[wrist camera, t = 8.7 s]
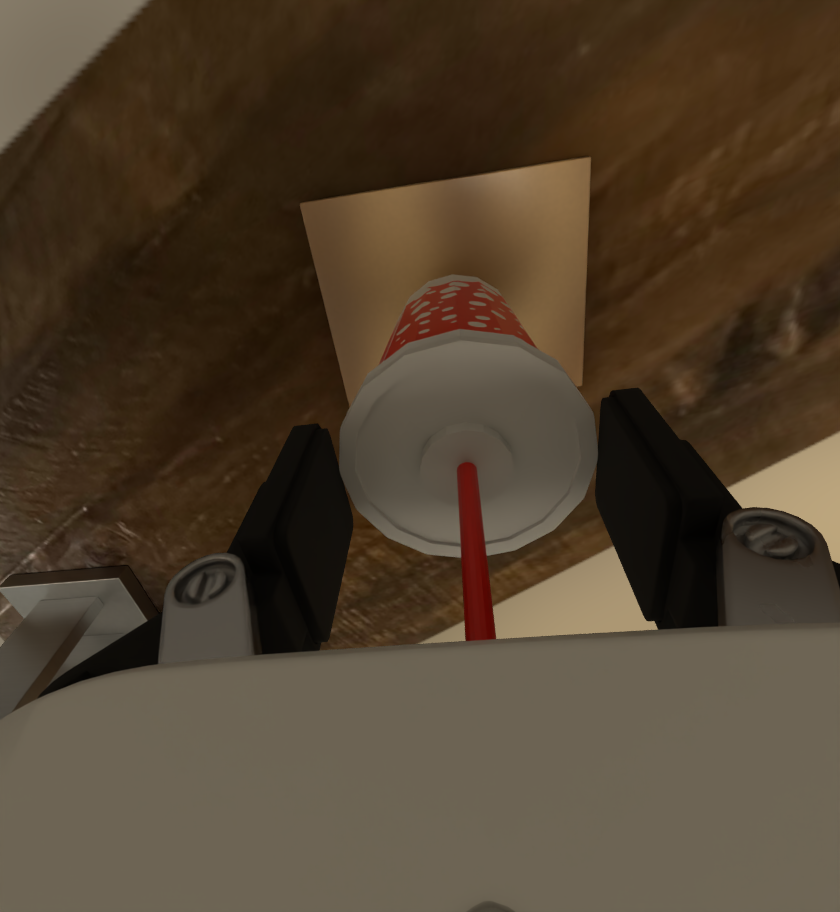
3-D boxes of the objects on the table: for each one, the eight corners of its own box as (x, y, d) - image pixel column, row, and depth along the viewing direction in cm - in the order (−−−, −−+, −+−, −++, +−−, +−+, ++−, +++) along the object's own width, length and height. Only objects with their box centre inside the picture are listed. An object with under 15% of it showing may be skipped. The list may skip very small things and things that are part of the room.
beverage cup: (460, 431, 22) (486, 787, 10) (346, 343, 20) (205, 659, 8) (569, 327, 19) (782, 643, 7) (449, 212, 17) (473, 392, 5)
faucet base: (128, 564, 34) (-1, 742, 24) (175, 638, 38) (83, 814, 28) (9, 575, 35) (-161, 749, 25) (69, 645, 39) (-57, 818, 29)
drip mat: (352, 407, 27) (350, 412, 26) (302, 201, 21) (298, 203, 21) (579, 380, 25) (582, 385, 25) (587, 156, 20) (591, 156, 19)
